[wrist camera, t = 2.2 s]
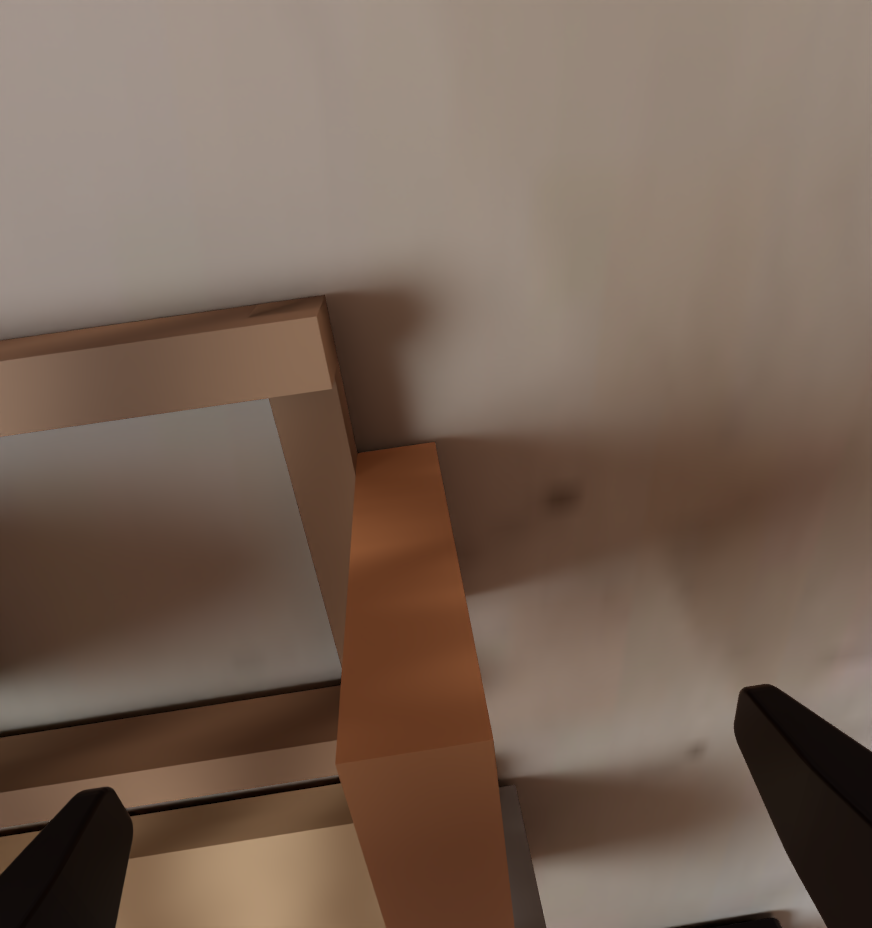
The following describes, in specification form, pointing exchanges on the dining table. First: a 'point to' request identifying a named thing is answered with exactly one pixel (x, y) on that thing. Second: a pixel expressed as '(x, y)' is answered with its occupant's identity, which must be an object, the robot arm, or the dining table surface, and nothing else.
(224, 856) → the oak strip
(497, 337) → the dining table surface
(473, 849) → the wooden tray
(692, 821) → the dining table surface
